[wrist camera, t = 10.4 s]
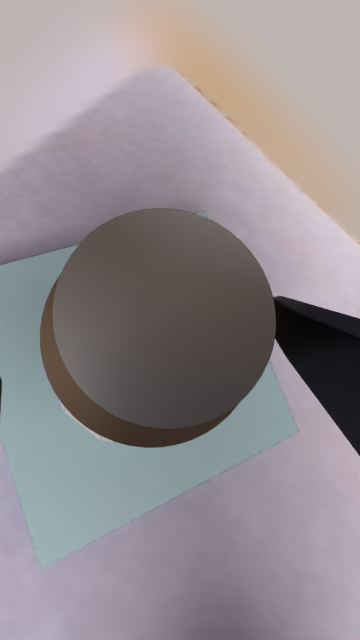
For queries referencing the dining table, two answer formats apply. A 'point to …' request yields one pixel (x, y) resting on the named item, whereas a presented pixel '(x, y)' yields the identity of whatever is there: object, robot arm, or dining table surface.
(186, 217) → the pepper mill
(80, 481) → the board
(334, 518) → the dining table surface
